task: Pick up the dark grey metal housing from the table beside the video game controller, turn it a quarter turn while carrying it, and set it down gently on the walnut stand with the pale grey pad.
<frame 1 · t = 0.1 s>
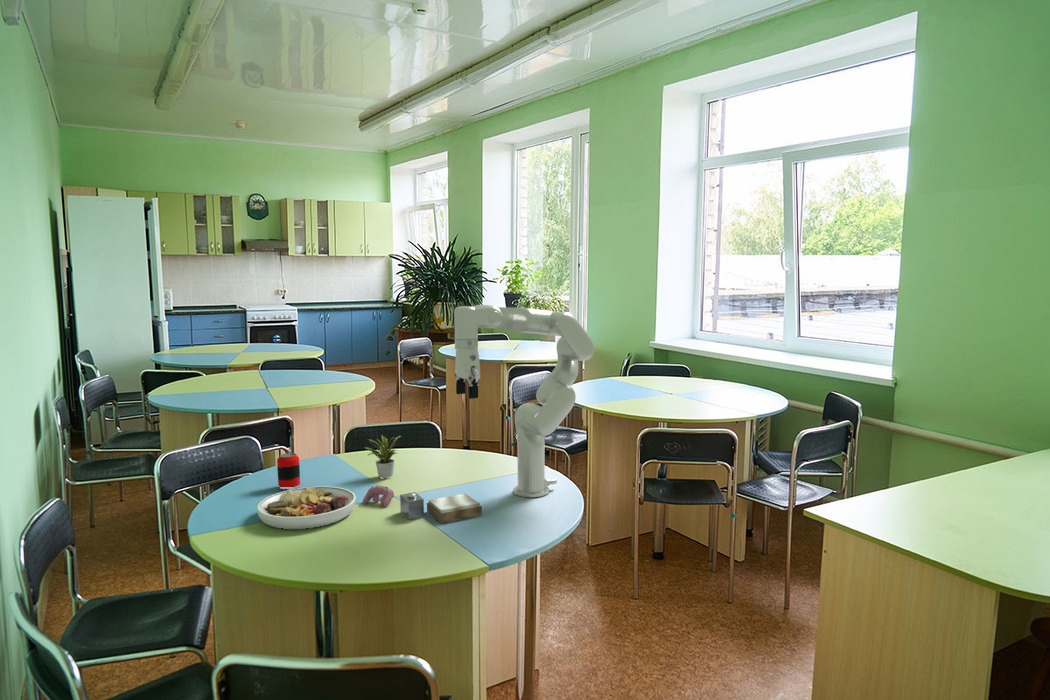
hand: (467, 395, 219), 37 cm above the table, tool pointing down, fingers open, 9 cm apart
bowl: (308, 516, 214), on the table
video game controller: (378, 504, 224), on the table
stand: (454, 513, 214), on the table
soda can: (289, 487, 242), on the table
house plant: (387, 476, 255), on the table
housing: (412, 515, 213), on the table
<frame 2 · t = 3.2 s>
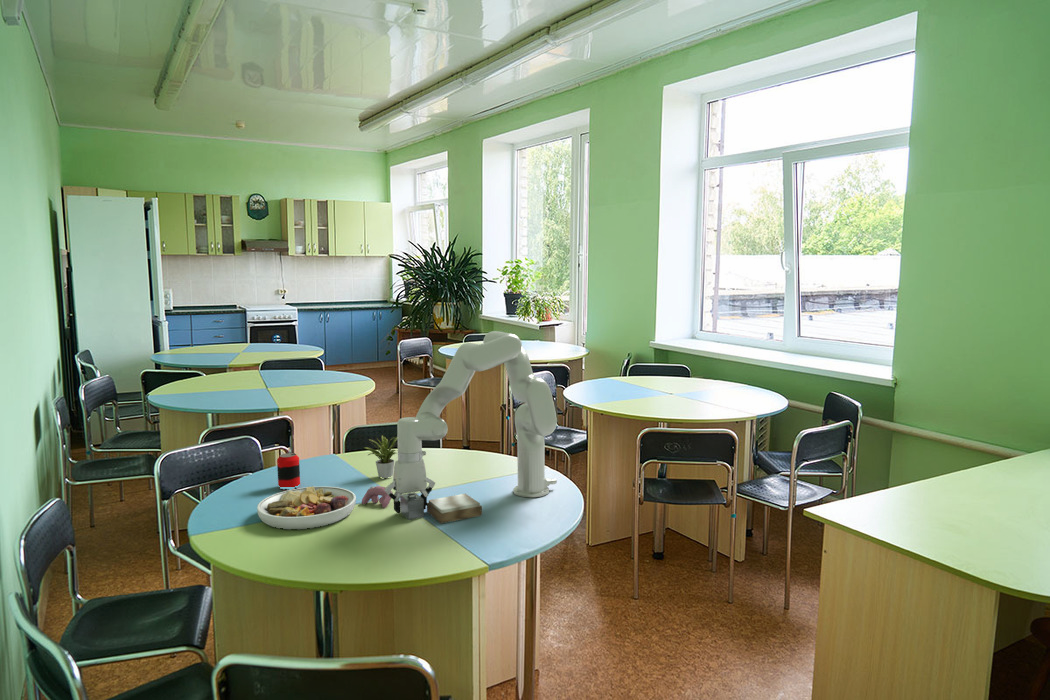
hand: (410, 510, 213), 2 cm above the table, tool pointing down, fingers open, 7 cm apart
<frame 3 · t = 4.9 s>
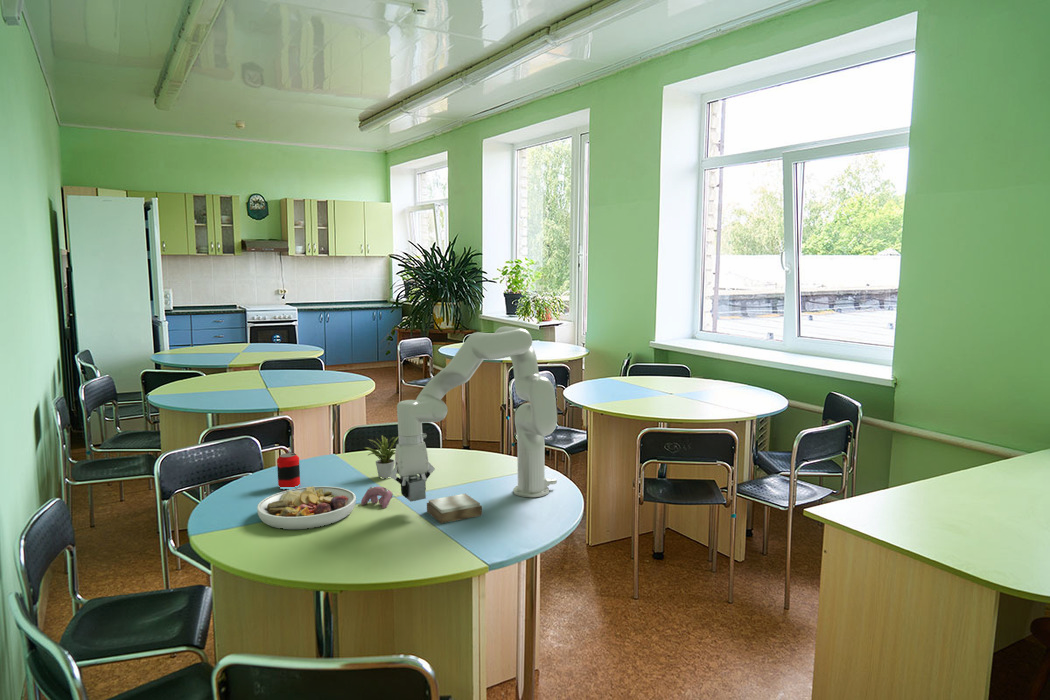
hand: (413, 494, 213), 7 cm above the table, tool pointing down, fingers closed on housing, 5 cm apart
housing: (413, 496, 213), point 6 cm above the table, touching gripper
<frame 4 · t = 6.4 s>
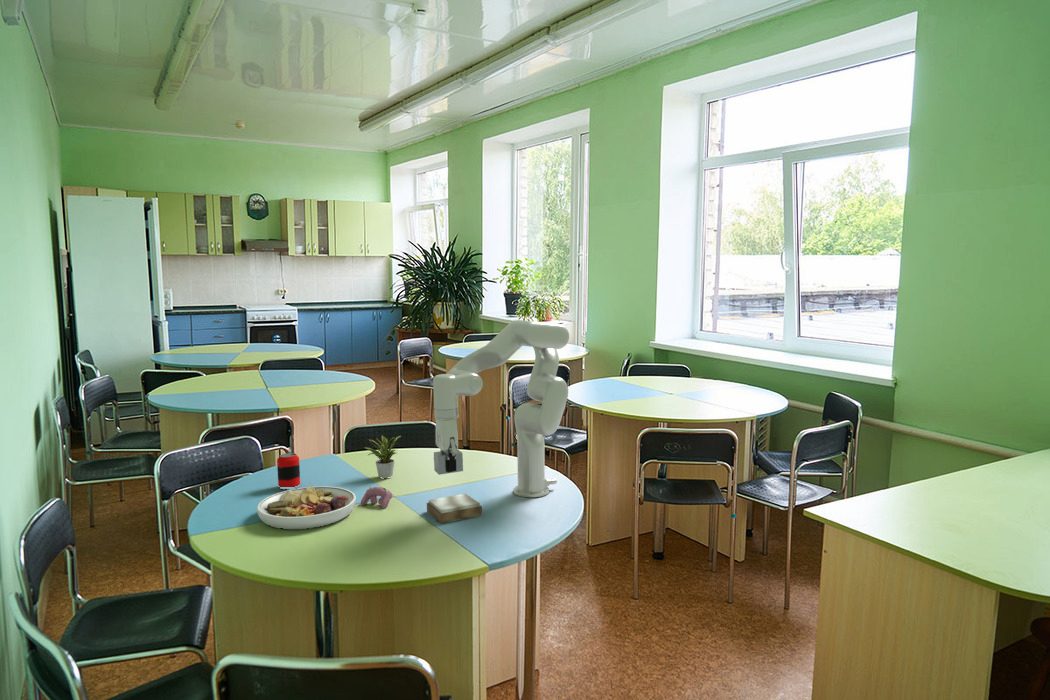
hand: (448, 468, 212), 15 cm above the table, tool pointing down, fingers closed on housing, 5 cm apart
housing: (448, 470, 212), point 14 cm above the table, touching gripper
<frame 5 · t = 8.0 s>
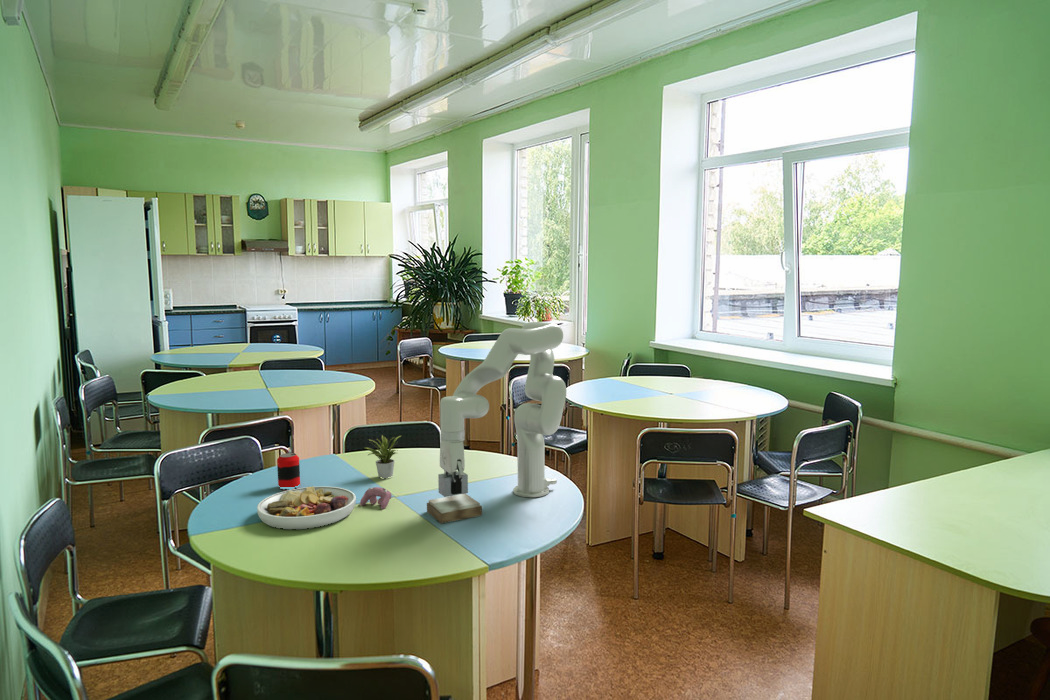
hand: (453, 490, 213), 8 cm above the table, tool pointing down, fingers closed on housing, 5 cm apart
housing: (453, 492, 213), point 7 cm above the table, touching gripper
when the fingers open (6 cm above the table, at t = 9.1 s): housing drops 1 cm, resting on stand.
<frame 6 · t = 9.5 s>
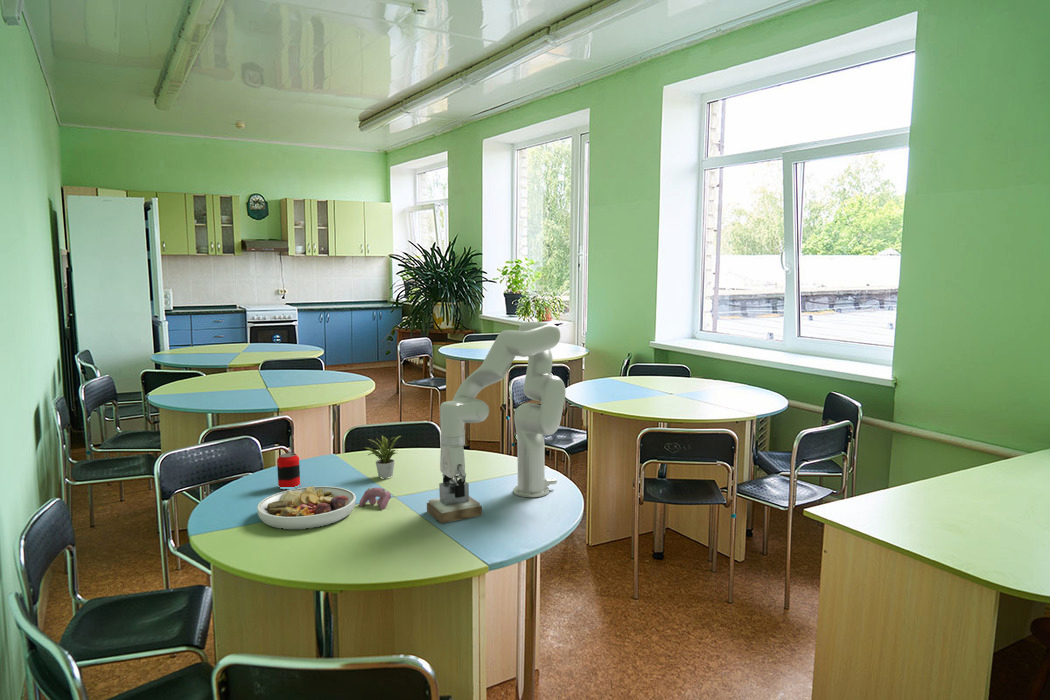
hand: (453, 492, 213), 7 cm above the table, tool pointing down, fingers open, 9 cm apart
housing: (454, 501, 213), point 4 cm above the table, touching stand
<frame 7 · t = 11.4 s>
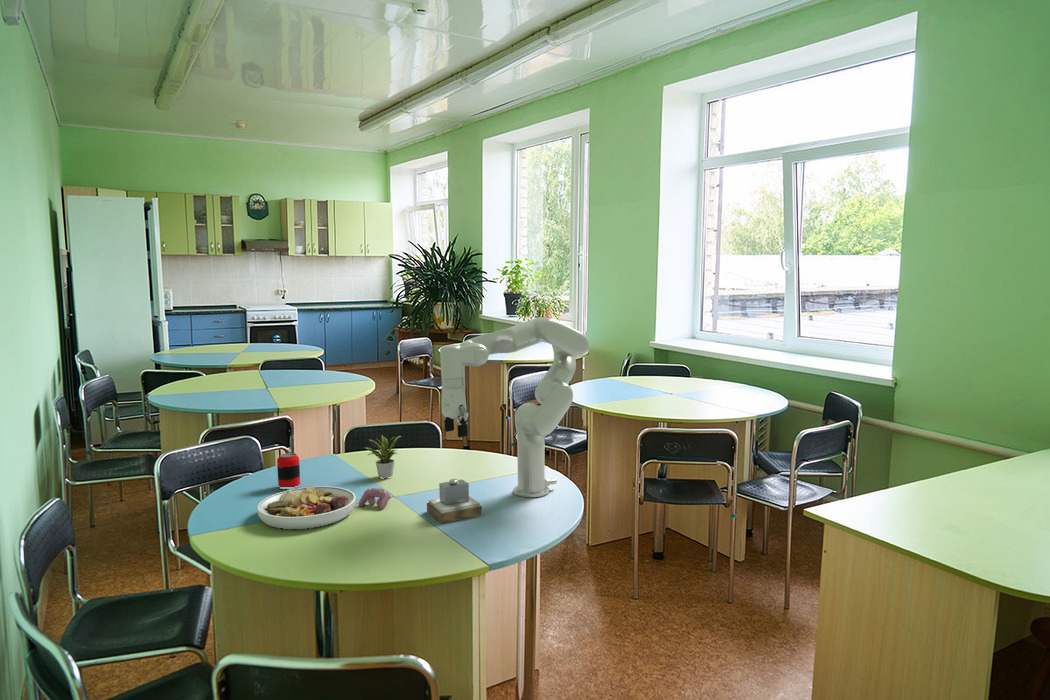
hand: (456, 433, 220), 24 cm above the table, tool pointing down, fingers open, 9 cm apart
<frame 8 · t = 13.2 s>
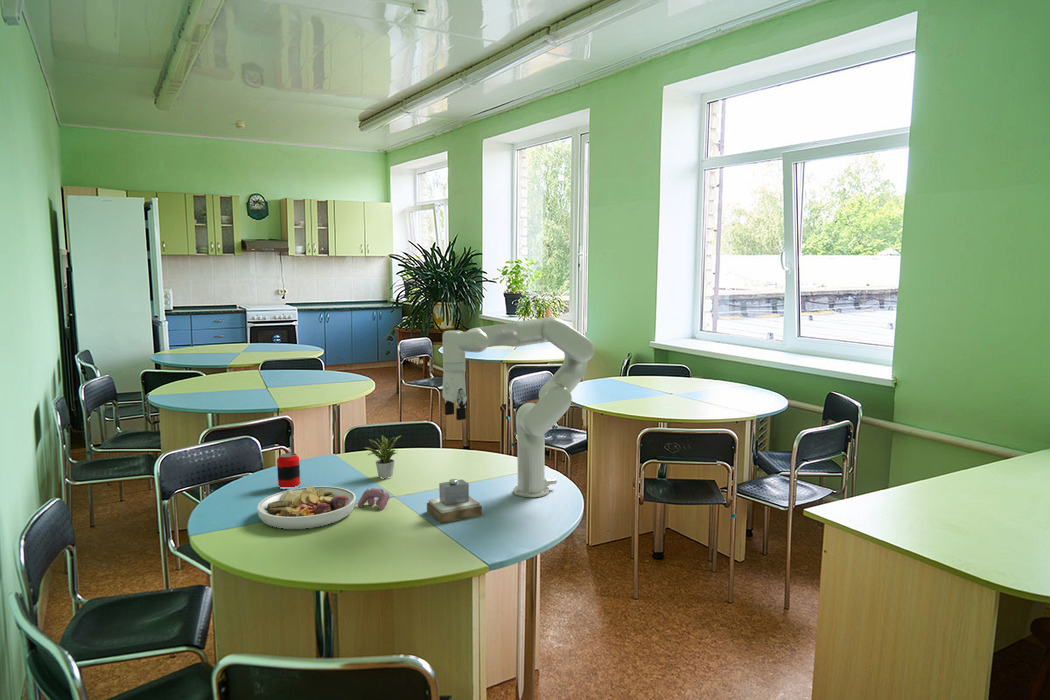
hand: (455, 417, 226), 28 cm above the table, tool pointing down, fingers open, 9 cm apart
at the end: housing inside the target area on the stand (0.1 cm from its centre), point 4.0 cm above the stand's base; housing tilted 0°; the gripper is holding nothing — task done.
